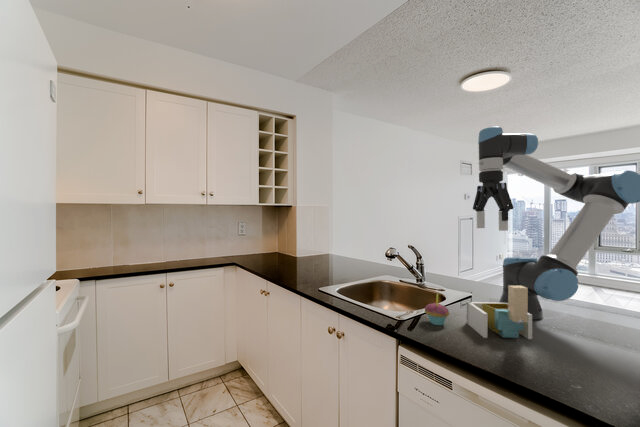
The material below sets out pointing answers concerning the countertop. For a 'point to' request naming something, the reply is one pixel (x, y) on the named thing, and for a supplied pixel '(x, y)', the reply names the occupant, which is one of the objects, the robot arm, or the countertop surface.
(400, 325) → the countertop surface
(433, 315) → the cupcake
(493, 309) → the flower pot
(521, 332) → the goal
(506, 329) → the rod
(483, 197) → the robot arm
